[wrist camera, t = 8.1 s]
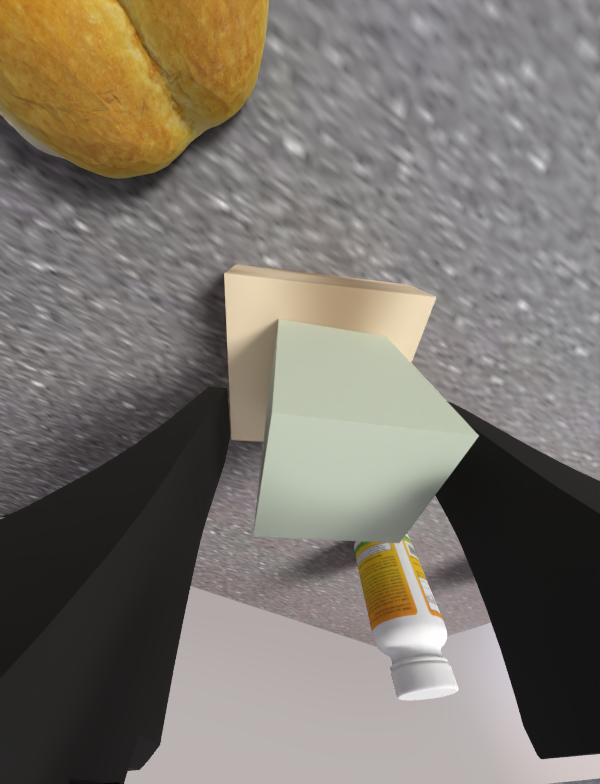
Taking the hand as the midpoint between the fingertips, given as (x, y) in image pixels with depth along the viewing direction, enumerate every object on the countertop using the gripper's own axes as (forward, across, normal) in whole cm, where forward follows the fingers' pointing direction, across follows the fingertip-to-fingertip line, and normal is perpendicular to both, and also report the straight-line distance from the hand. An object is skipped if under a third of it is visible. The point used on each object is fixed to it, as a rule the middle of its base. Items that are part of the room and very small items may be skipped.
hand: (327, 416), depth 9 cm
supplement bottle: (+6, -9, +19) cm, 22 cm away
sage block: (+3, 0, 0) cm, 3 cm away
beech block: (+6, 0, 0) cm, 6 cm away
